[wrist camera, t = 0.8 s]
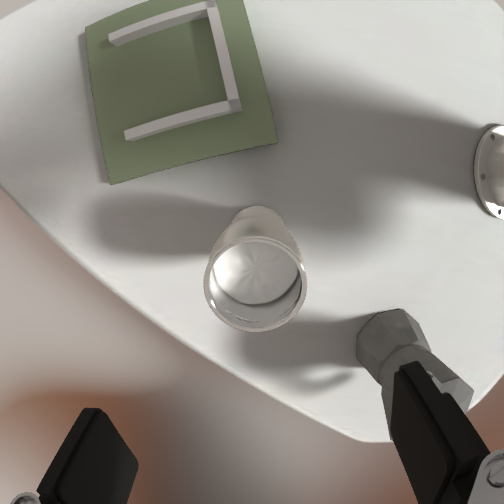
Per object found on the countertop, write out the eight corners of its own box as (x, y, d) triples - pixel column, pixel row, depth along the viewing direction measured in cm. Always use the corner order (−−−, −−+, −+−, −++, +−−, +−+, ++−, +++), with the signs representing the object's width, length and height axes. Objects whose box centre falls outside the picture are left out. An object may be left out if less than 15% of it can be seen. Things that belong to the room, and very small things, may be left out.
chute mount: (237, -15, 26) (234, -32, 23) (277, 142, 32) (279, 140, 28) (92, 32, 28) (76, 22, 24) (118, 183, 33) (101, 186, 29)
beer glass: (211, 229, 34) (177, 280, 20) (261, 187, 33) (262, 209, 19) (253, 276, 36) (248, 352, 21) (303, 237, 34) (332, 293, 20)
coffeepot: (336, 319, 37) (381, 427, 20) (403, 281, 36) (485, 364, 18) (375, 396, 41) (413, 492, 23) (431, 364, 39) (487, 449, 22)
